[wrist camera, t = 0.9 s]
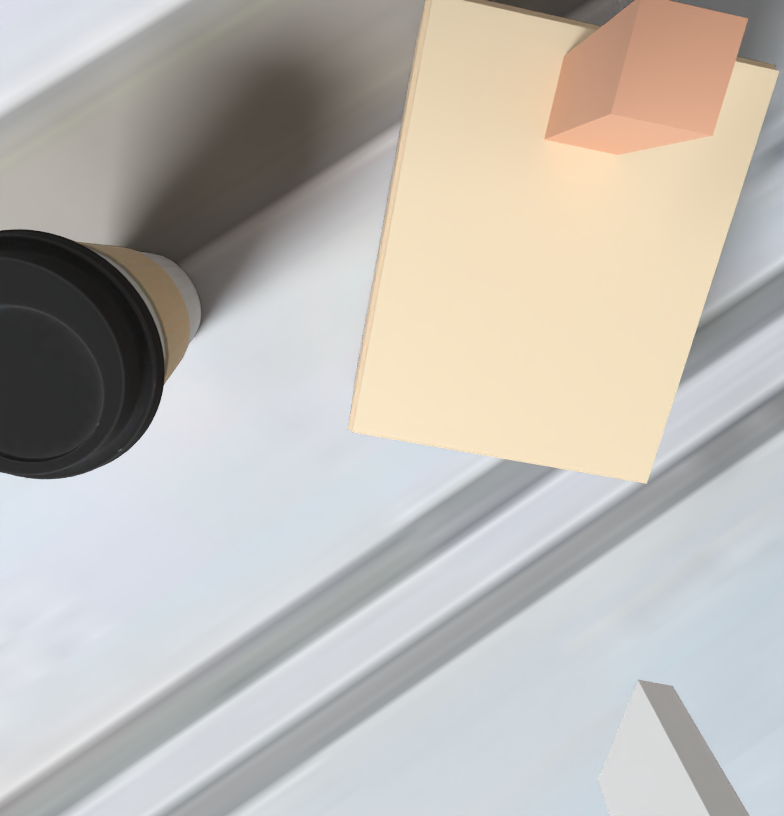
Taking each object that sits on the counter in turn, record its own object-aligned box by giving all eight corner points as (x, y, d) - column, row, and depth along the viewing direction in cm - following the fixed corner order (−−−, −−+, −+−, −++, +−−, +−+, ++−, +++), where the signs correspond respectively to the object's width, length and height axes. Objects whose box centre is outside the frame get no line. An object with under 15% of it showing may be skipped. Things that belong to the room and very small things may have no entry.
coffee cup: (125, 183, 36) (-41, 169, 22) (268, 297, 38) (200, 354, 24) (31, 318, 38) (-179, 388, 24) (171, 420, 40) (54, 543, 26)
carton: (416, 41, 34) (428, -13, 26) (679, 98, 35) (775, 65, 27) (354, 380, 39) (348, 429, 31) (586, 421, 40) (642, 481, 32)
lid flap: (431, -1, 26) (457, -99, 17) (768, 75, 27) (946, 15, 18) (353, 426, 31) (343, 510, 22) (640, 476, 32) (735, 575, 23)
